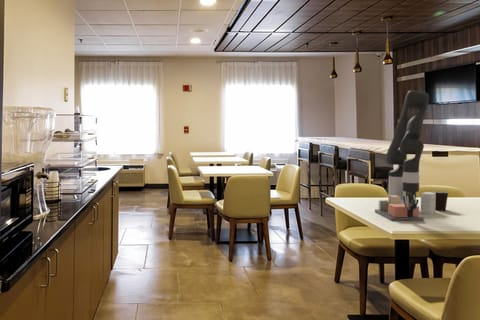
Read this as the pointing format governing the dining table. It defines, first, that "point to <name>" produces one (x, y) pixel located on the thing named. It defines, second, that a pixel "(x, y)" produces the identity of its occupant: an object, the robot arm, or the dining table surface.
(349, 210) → the dining table surface
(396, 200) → the maple block
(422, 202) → the small box
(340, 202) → the dining table surface
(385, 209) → the vise
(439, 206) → the coffee mug
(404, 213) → the sliding jaw
